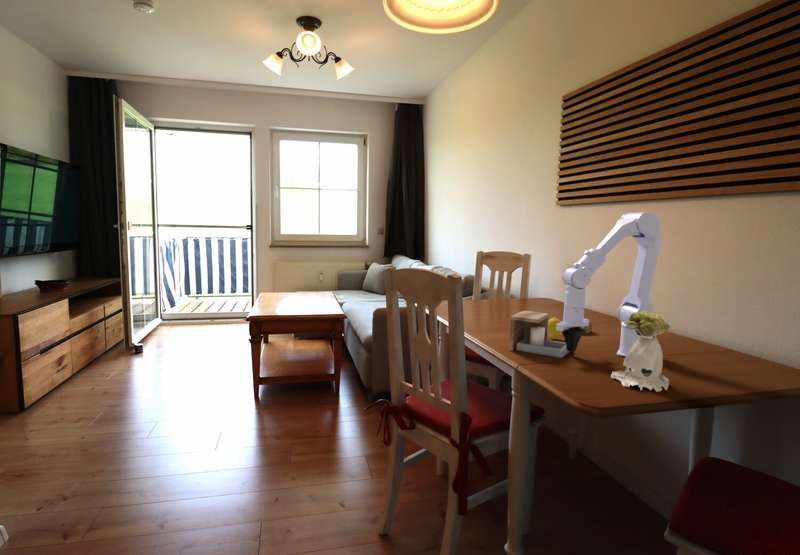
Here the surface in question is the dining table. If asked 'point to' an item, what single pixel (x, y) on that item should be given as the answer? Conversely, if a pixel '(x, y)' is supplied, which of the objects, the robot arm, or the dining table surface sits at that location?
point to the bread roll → (587, 327)
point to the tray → (543, 348)
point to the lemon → (553, 328)
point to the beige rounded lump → (537, 335)
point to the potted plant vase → (644, 353)
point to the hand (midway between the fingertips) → (571, 351)
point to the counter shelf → (526, 326)
